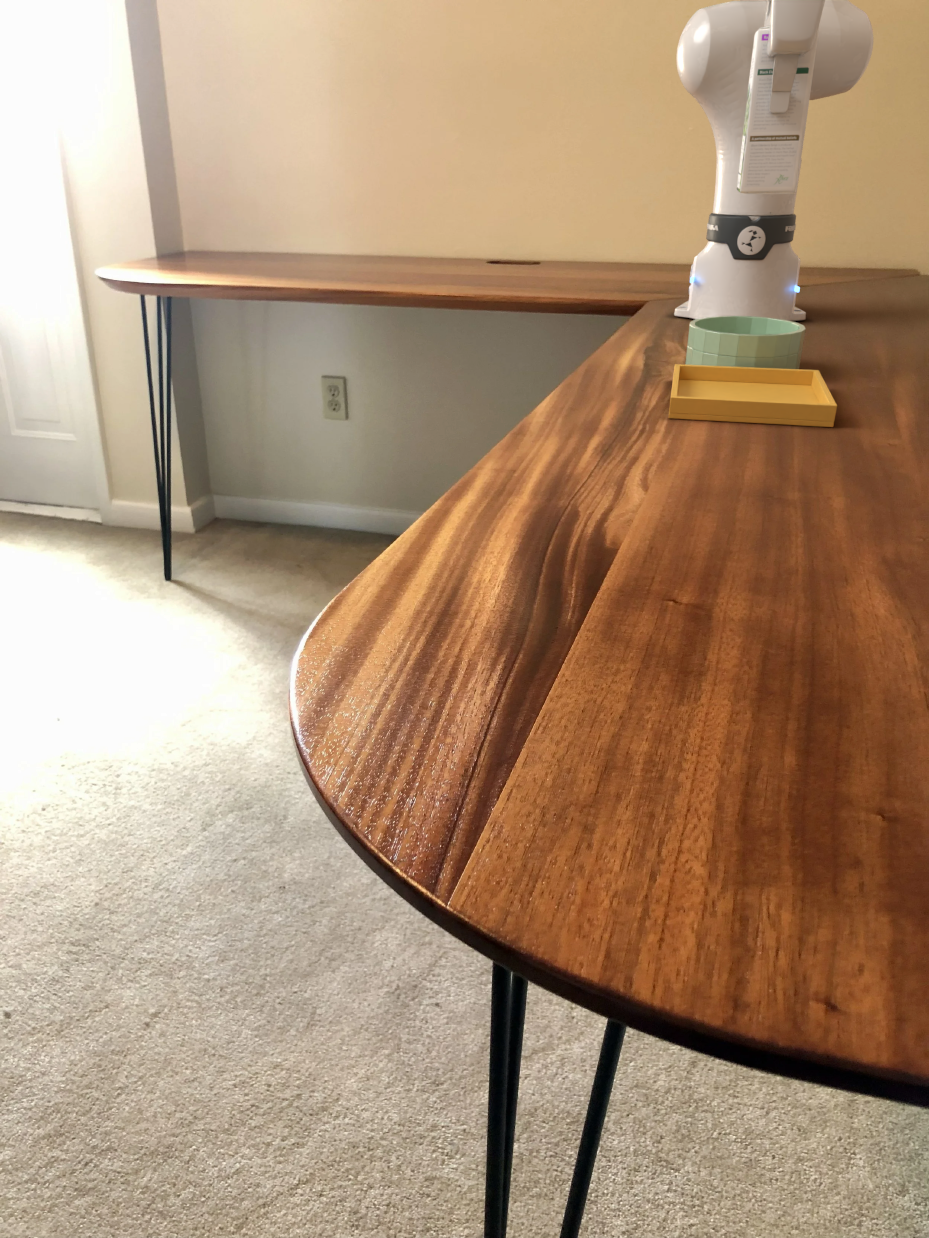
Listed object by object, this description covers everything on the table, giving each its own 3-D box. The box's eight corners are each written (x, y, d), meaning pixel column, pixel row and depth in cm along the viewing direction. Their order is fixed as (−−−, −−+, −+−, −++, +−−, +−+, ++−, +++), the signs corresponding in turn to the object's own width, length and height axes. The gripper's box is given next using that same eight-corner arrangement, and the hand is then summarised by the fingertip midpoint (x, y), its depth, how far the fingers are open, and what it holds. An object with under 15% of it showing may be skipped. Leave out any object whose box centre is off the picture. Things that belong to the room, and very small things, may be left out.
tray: (672, 382, 96) (674, 364, 95) (815, 389, 93) (819, 370, 92) (668, 418, 83) (670, 397, 82) (833, 427, 80) (837, 405, 79)
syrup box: (797, 194, 89) (824, 22, 82) (736, 194, 90) (758, 24, 84) (790, 191, 94) (815, 28, 87) (733, 191, 95) (753, 30, 88)
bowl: (685, 357, 108) (690, 314, 105) (792, 361, 105) (799, 317, 103) (683, 380, 97) (689, 333, 95) (802, 385, 94) (810, 337, 92)
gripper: (758, -37, 92) (739, 116, 98) (771, -77, 74) (746, 112, 81) (822, -40, 91) (798, 115, 97) (850, -82, 73) (819, 111, 80)
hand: (775, 114), depth 89 cm, fingers closed on syrup box, 6 cm apart
